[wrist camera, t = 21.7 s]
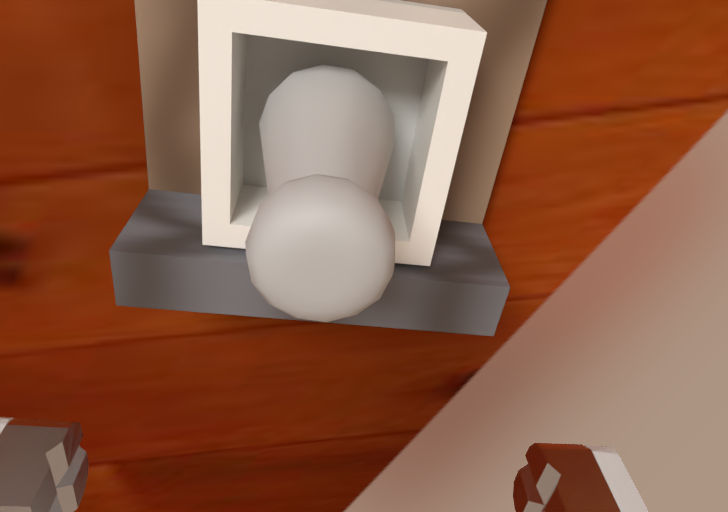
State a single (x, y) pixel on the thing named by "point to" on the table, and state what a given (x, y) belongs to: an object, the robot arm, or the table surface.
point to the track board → (184, 105)
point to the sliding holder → (342, 49)
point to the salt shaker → (323, 196)
